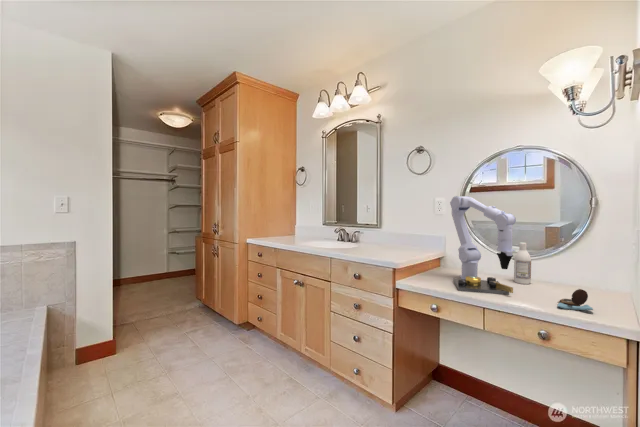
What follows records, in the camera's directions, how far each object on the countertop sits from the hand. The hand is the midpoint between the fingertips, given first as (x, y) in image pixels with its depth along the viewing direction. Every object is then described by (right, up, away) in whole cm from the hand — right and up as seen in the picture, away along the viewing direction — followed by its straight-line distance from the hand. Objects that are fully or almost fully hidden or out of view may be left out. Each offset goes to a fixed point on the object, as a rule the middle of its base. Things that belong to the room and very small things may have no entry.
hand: (504, 268), depth 134 cm
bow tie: (+11, -9, -23) cm, 28 cm away
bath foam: (+16, -9, +11) cm, 21 cm away
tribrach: (-10, -9, +3) cm, 14 cm away
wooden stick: (-5, -8, -5) cm, 11 cm away
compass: (+12, -10, -21) cm, 26 cm away
